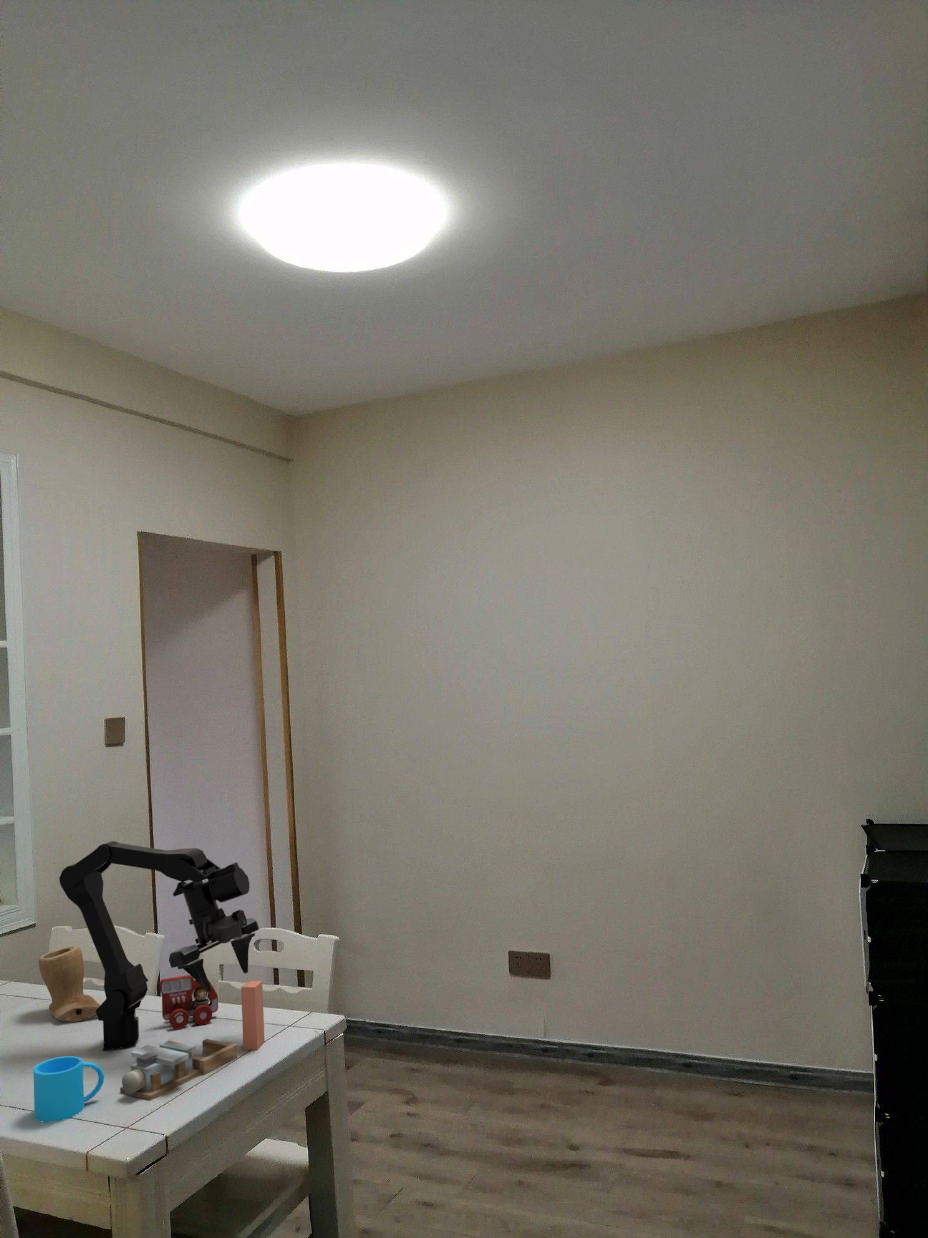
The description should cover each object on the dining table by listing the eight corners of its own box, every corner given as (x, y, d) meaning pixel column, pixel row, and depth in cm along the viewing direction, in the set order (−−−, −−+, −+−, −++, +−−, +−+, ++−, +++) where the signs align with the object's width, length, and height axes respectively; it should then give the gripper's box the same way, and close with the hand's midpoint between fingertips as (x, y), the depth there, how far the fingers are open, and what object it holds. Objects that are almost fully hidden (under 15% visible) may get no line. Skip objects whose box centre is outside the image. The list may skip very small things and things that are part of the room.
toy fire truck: (221, 1022, 219) (219, 974, 220) (162, 1033, 214) (161, 984, 215) (215, 1012, 226) (214, 966, 226) (159, 1023, 221) (157, 975, 221)
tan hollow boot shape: (36, 1012, 232) (35, 947, 233) (90, 1001, 238) (88, 937, 239) (47, 1031, 219) (45, 961, 220) (103, 1018, 225) (101, 951, 226)
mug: (41, 1127, 171) (39, 1079, 172) (29, 1111, 178) (28, 1065, 178) (111, 1106, 179) (110, 1059, 179) (97, 1091, 185) (96, 1047, 186)
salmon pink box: (243, 1049, 202) (241, 987, 203) (250, 1042, 206) (248, 981, 207) (257, 1050, 202) (255, 987, 202) (264, 1042, 206) (262, 981, 206)
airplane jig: (199, 1050, 203) (198, 1019, 204) (240, 1058, 198) (238, 1026, 198) (108, 1094, 184) (107, 1060, 184) (150, 1105, 178) (149, 1069, 178)
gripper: (184, 922, 194) (209, 999, 192) (260, 887, 208) (285, 960, 206) (157, 928, 201) (181, 1003, 200) (233, 895, 215) (256, 965, 214)
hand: (227, 982), depth 205 cm, fingers open, 9 cm apart
